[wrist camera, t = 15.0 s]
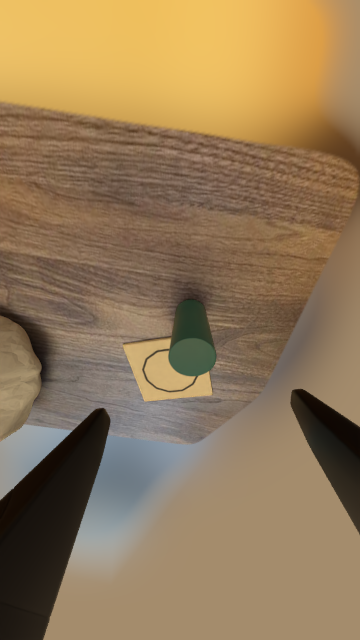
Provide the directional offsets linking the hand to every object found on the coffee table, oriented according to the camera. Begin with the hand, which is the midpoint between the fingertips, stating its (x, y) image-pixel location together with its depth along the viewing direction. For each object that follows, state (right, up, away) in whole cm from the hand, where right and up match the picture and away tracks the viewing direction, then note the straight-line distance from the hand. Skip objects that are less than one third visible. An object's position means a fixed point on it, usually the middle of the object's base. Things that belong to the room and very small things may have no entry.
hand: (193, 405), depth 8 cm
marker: (+1, +5, +11) cm, 12 cm away
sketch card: (-2, -3, +15) cm, 15 cm away
